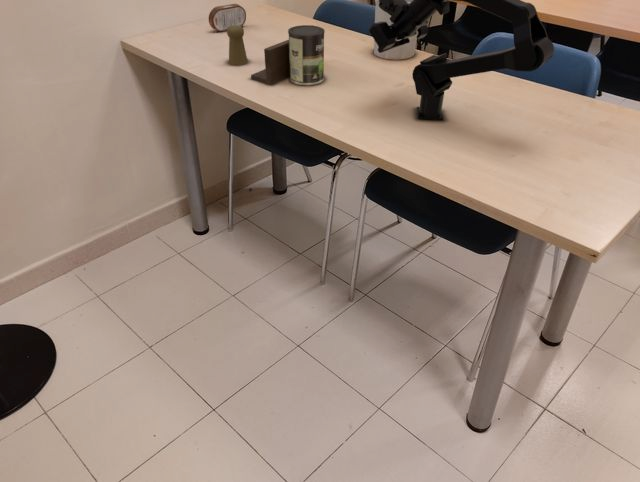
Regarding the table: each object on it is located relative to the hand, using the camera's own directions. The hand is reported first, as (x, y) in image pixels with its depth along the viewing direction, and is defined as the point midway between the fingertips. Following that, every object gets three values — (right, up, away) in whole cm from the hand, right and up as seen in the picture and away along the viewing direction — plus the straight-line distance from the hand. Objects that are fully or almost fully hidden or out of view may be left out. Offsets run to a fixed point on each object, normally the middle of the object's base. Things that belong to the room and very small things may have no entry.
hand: (379, 51), depth 131 cm
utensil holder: (+9, +13, +37) cm, 41 cm away
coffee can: (-20, -2, +19) cm, 27 cm away
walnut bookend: (-27, +2, +23) cm, 35 cm away
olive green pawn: (-42, +8, +30) cm, 52 cm away
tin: (-50, +30, +58) cm, 82 cm away
